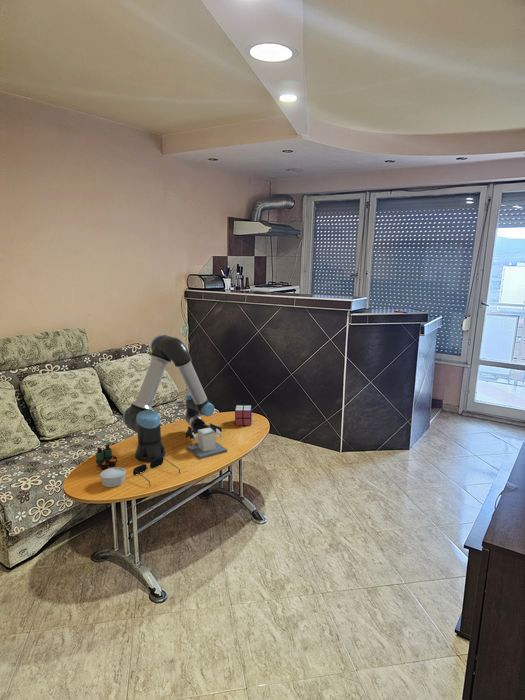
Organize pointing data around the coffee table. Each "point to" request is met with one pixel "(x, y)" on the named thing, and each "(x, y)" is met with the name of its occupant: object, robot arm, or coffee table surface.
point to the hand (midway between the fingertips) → (208, 437)
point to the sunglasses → (152, 464)
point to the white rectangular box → (206, 439)
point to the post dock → (201, 454)
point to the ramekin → (113, 476)
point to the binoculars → (105, 458)
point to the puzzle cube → (243, 415)
